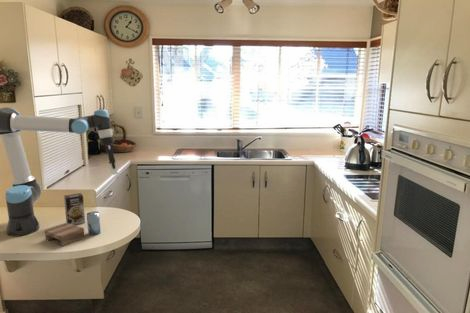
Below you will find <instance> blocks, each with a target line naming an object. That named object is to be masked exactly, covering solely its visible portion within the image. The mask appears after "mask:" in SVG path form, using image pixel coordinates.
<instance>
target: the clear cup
mask: <svg viewBox="0 0 470 313" xmlns="http://www.w3.org/2000/svg"><path fill="white" fill-rule="evenodd" d="M86 223H87V224H86V225H87V233H88V236H91V237H92V236H98V235H99V234H101V233H102V232H101V222H100V212H99V211H95V210H94V211H89V212H87V213H86Z"/></svg>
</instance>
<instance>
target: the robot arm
mask: <svg viewBox="0 0 470 313" xmlns="http://www.w3.org/2000/svg"><path fill="white" fill-rule="evenodd" d="M93 129H97V134H98V136H99V138H100V145H101V146H103V145H104V146H105V151H106V155H107V157H108V161H109V162H108V164H109V167H110V170H111V173H112V175H113V176H114V175H118V168H117V164H116V163H117V162H116V158H115V156H114V148H113V146H112V145H111V144H113V143H115V137H114V136H113V135H114V130H113V129H112V123H111V119H110V114H109V112H108V110H107V109H98V110H94V111H93V114H92V115H85V116H79V117H74V118H69V117H56V116H55V117H53V116H38V115H37V116H36V115H22V114H20V112H19V111H18V110H17V109H15V108H11V107H1V108H0V138H1V140H2V143H3V147H4V150H5V153H6V157H7V160H8V164H9V166H10V170H11V173H12V177H13V181H12V183H11V185H12V187H9V188H7V190H6V191H5V198H4V199H5V202H6V203H5V204H6V209H7V216H8V221H7V226H6V234H7V235H8V234H10V235H21V236H25V235H24V234H26V235H29V233H30V234H33V233H35V232H36V231H38V230H40V222H39V221H38V219H37V217H36V216H35V211H34V203H35V202H36V201H37V200H38V199H39V198H40V196H41V194H42V187H41V185H40V184H39V183H38V182H37V178H36V177H35V176H34V175H32V173H31V172H32V171H31V168H30V166H29V165H30V164H29V162H28V159H27V154H26V151H25V147H24V144H23V140H22V137H21V133H22V132H23V131H26V132H27V131H30V132H31V131H32V132H51V133H52V132H53V133H54V132H55V133H69V134H70V133H71V134H72V133H74V134H77V135H83V134H85V133H86V132H87V131H88V130H93ZM32 232H33V233H32ZM10 235H9V236H10Z"/></svg>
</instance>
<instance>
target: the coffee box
mask: <svg viewBox="0 0 470 313" xmlns="http://www.w3.org/2000/svg"><path fill="white" fill-rule="evenodd" d="M63 201H64V211H65V219H66V220H65V223H69V224H72V225H75V226H77V225H80V224H86V218H85V216H86V215H85V205H84V204H85V203H84V195H83V194H82V193H81V192H79V193H72V194H67V195H65V194H64V195H63Z"/></svg>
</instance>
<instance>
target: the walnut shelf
mask: <svg viewBox="0 0 470 313" xmlns="http://www.w3.org/2000/svg"><path fill="white" fill-rule="evenodd" d="M44 233H45V234H44V236H45V241H47V240H48V241H47V242H49V240H50V241H52V240H54V238H55V239H57V240H59V244H60V246H61V247H65V246H68V245H70V244H72V243H75V242H77V241H79V240H82V239H84V238H85V228H84V227H81V226H78V225H72V224H69V223H66V222H65V223H62V224H60V225H57V226H55V227H51V228H48V229H45V230H44Z"/></svg>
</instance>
